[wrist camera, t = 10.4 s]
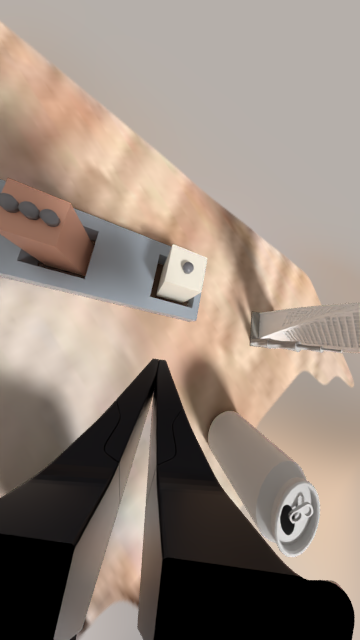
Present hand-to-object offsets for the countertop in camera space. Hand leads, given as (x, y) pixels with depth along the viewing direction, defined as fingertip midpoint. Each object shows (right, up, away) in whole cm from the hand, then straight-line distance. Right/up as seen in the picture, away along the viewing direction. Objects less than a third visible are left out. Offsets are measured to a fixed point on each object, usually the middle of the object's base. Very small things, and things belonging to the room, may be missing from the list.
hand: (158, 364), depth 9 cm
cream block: (0, +8, +14) cm, 16 cm away
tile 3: (-13, +12, +9) cm, 20 cm away
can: (+9, -17, +16) cm, 25 cm away
